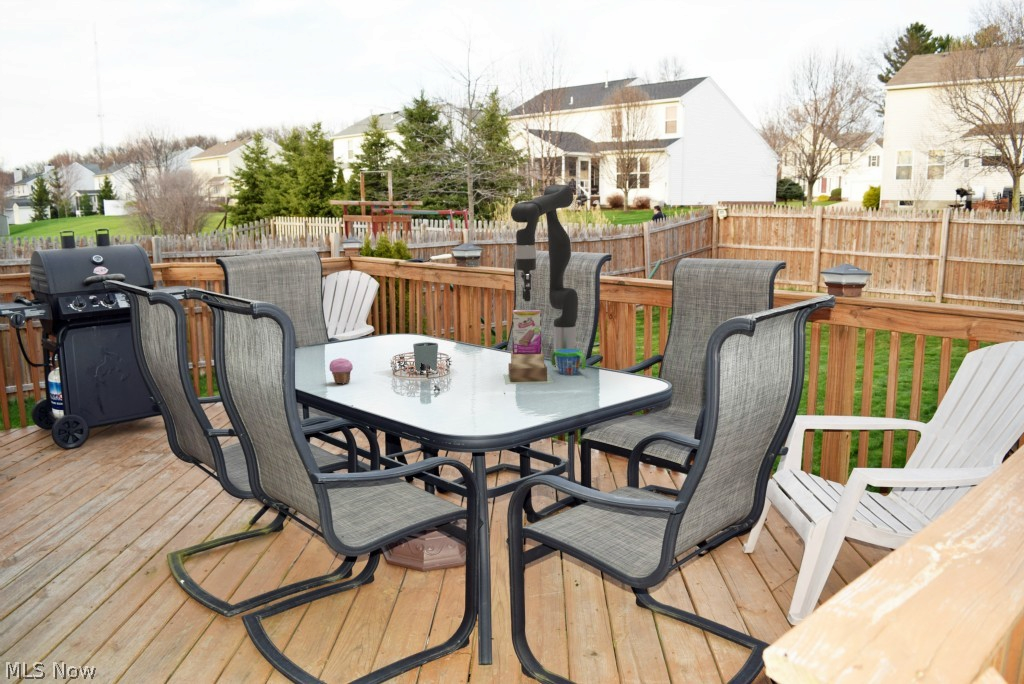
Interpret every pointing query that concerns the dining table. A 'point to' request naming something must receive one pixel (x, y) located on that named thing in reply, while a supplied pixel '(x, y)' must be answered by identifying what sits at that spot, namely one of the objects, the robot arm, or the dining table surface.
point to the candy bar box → (527, 331)
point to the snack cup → (568, 361)
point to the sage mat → (507, 381)
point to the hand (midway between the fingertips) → (526, 300)
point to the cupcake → (341, 370)
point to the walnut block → (527, 374)
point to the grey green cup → (426, 355)
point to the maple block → (527, 360)
